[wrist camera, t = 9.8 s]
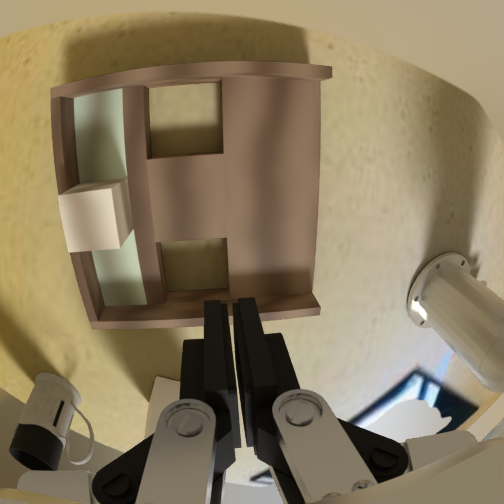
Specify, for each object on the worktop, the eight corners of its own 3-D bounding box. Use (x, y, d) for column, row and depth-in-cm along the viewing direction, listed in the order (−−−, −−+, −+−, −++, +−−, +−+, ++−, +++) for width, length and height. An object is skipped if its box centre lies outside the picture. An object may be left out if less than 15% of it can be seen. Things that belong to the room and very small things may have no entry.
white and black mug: (26, 371, 36) (-6, 440, 23) (94, 371, 37) (69, 456, 24) (51, 406, 40) (28, 472, 26) (117, 408, 41) (103, 486, 27)
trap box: (311, 75, 27) (332, 66, 22) (305, 289, 36) (319, 314, 31) (75, 92, 24) (50, 88, 19) (105, 302, 33) (92, 329, 28)
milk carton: (156, 374, 39) (144, 497, 21) (204, 385, 41) (211, 506, 23) (148, 403, 41) (138, 512, 24) (192, 412, 43) (196, 520, 26)
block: (127, 177, 26) (111, 188, 21) (133, 228, 28) (120, 248, 23) (80, 183, 25) (57, 195, 21) (87, 232, 27) (68, 252, 23)
